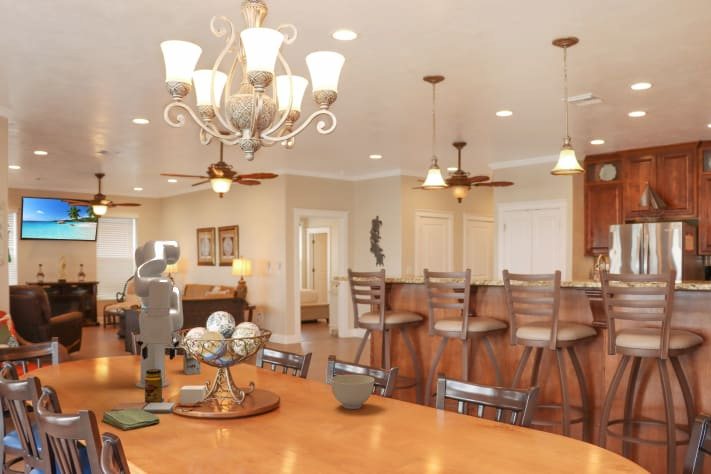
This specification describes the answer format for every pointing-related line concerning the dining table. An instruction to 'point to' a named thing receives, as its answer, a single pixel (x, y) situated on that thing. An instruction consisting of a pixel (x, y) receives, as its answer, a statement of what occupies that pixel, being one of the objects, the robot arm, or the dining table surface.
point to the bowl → (352, 389)
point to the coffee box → (190, 365)
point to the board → (147, 407)
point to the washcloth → (130, 418)
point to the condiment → (153, 386)
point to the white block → (192, 394)
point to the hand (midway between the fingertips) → (158, 358)
